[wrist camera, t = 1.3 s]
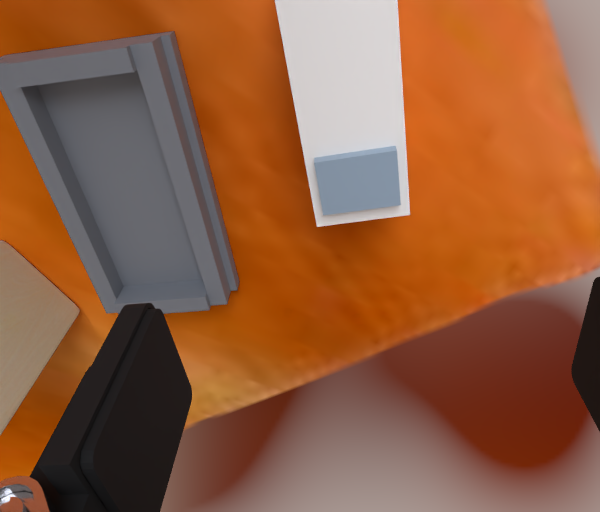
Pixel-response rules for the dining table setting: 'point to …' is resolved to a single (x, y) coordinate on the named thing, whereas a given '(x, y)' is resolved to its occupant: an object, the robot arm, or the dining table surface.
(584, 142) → the dining table surface
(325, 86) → the white box
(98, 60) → the tray
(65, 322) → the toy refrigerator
